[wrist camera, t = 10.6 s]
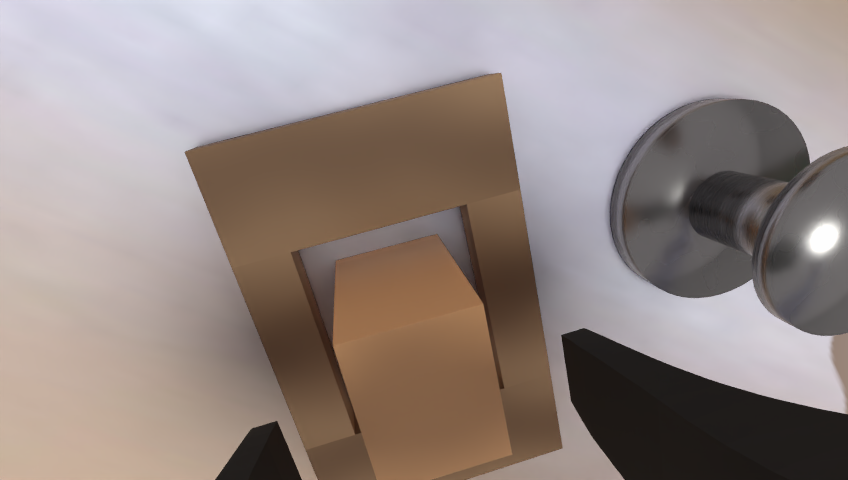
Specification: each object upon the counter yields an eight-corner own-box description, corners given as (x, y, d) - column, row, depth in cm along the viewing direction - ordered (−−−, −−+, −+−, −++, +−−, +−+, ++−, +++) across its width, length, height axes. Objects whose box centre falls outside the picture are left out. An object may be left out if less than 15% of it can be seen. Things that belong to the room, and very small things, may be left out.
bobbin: (781, 259, 18) (958, 326, 13) (618, 308, 18) (735, 399, 13) (788, 77, 16) (1006, 70, 11) (601, 126, 15) (734, 145, 10)
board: (549, 426, 19) (562, 448, 18) (335, 495, 18) (335, 522, 17) (488, 74, 14) (501, 72, 13) (197, 146, 14) (184, 151, 12)
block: (461, 345, 17) (512, 454, 12) (369, 371, 17) (381, 495, 12) (436, 233, 16) (483, 303, 11) (335, 260, 15) (333, 345, 10)
